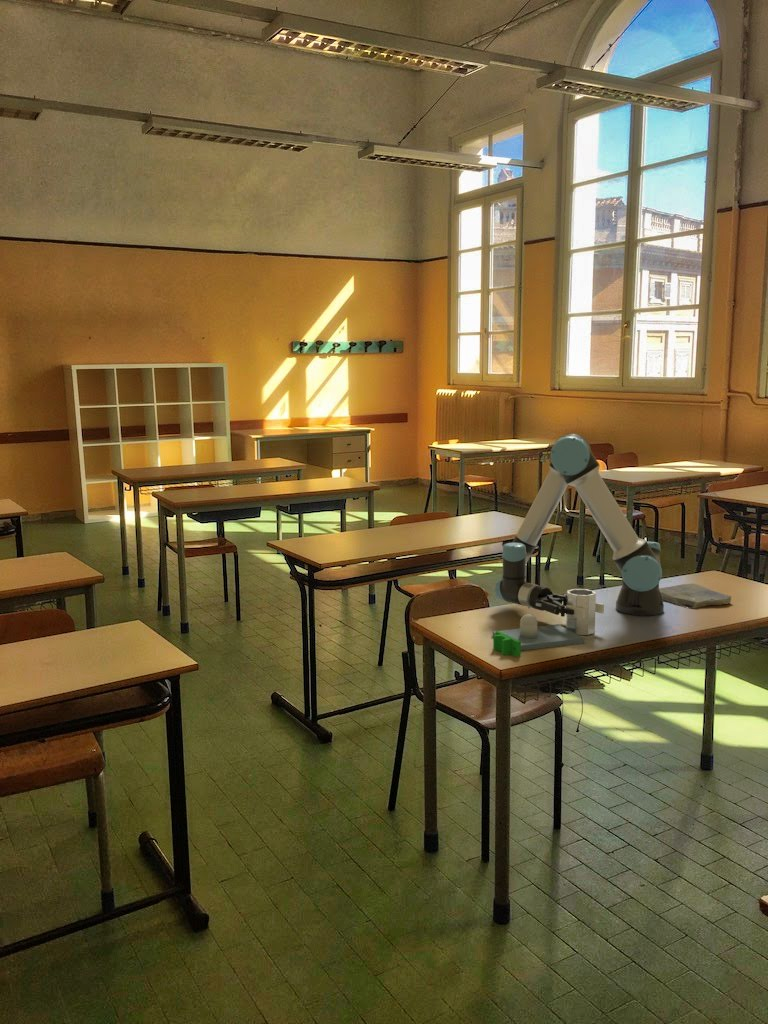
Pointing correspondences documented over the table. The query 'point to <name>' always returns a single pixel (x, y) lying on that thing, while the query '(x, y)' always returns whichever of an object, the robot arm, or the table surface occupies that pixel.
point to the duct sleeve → (583, 601)
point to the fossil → (693, 596)
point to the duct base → (541, 634)
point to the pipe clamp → (506, 644)
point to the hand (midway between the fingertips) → (593, 611)
